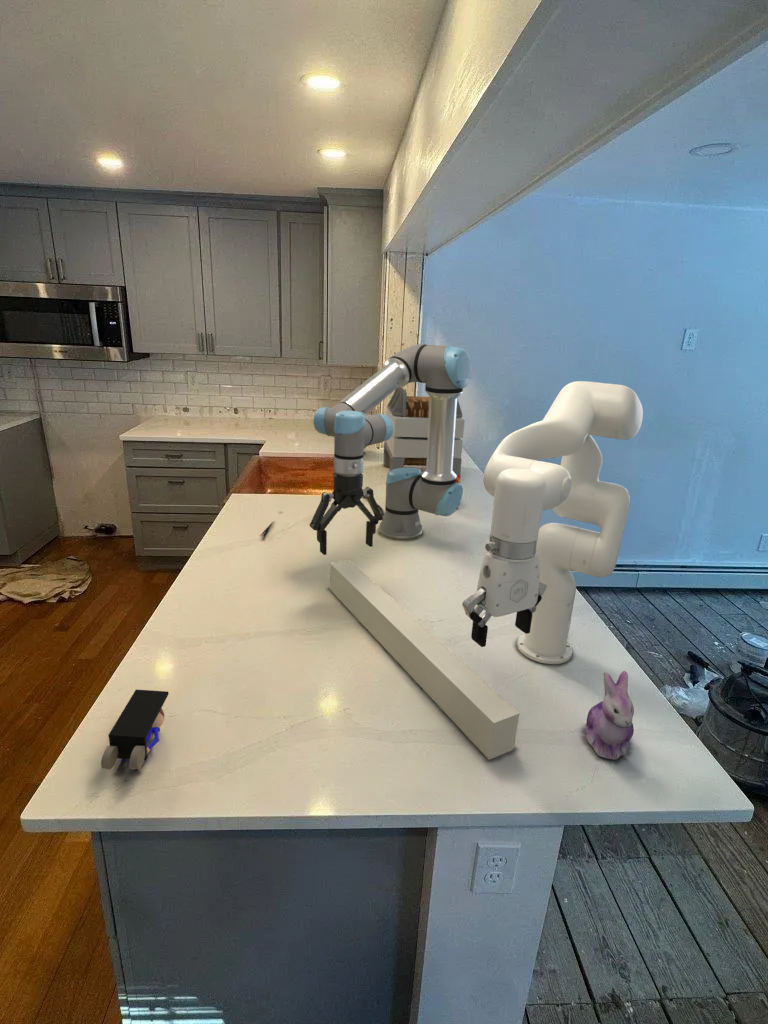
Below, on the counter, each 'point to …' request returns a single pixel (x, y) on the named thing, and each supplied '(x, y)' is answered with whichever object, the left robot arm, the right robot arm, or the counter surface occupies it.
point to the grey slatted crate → (415, 432)
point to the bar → (429, 662)
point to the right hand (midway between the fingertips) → (500, 636)
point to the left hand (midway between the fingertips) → (346, 549)
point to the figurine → (611, 719)
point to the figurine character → (135, 730)
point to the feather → (267, 530)
